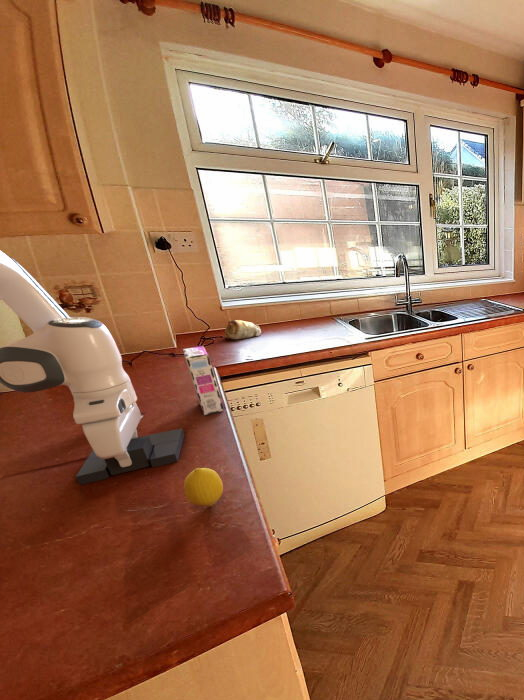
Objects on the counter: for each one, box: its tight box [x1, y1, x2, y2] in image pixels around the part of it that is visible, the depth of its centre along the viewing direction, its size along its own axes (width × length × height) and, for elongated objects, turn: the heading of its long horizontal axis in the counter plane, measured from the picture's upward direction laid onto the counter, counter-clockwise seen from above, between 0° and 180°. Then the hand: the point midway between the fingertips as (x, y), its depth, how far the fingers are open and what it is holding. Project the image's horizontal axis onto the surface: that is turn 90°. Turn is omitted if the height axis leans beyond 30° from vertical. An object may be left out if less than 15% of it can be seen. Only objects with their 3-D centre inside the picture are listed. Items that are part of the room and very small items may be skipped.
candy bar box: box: [182, 345, 225, 416], centre depth 115 cm, size 11×5×16 cm, turn 40°
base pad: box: [75, 427, 185, 486], centre depth 93 cm, size 16×14×2 cm
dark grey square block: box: [104, 435, 153, 476], centre depth 90 cm, size 6×6×4 cm
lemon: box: [183, 467, 224, 507], centre depth 76 cm, size 6×6×8 cm
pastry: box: [224, 319, 262, 340], centre depth 187 cm, size 14×12×8 cm
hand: (131, 456), depth 90 cm, fingers closed on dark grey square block, 6 cm apart
